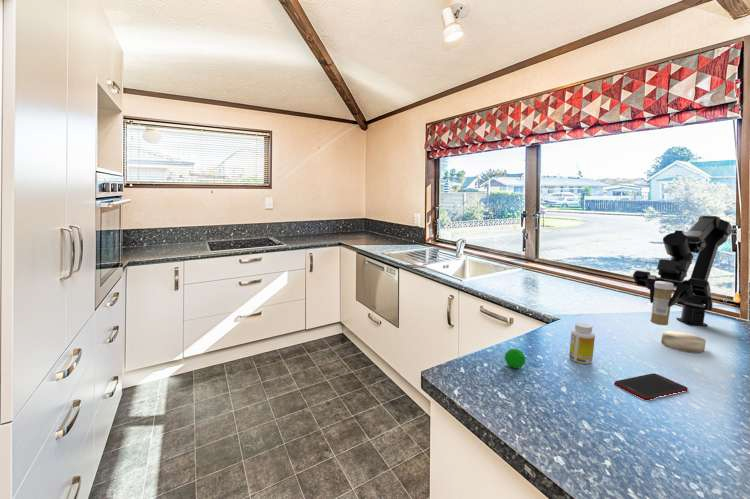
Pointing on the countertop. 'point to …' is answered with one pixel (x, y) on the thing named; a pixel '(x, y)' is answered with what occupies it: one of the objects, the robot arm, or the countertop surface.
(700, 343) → the round beige base
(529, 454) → the countertop surface
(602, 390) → the countertop surface
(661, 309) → the sprinkles bottle
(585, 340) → the supplement bottle
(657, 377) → the cell phone
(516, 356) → the green ball
